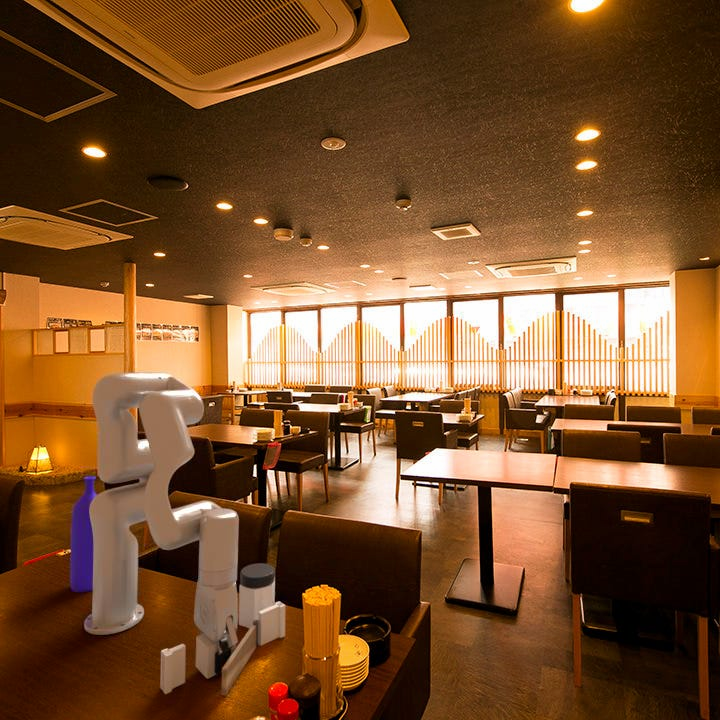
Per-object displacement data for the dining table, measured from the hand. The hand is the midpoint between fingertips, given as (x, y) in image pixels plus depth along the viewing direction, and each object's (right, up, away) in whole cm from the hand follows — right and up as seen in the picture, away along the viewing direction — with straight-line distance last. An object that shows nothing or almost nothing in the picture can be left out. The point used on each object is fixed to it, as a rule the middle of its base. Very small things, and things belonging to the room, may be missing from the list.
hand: (215, 662), depth 92 cm
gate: (+5, -1, +1) cm, 5 cm away
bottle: (-47, -2, +35) cm, 58 cm away
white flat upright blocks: (+1, -2, +3) cm, 4 cm away
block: (0, -1, 0) cm, 1 cm away
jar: (+4, -2, +19) cm, 19 cm away
